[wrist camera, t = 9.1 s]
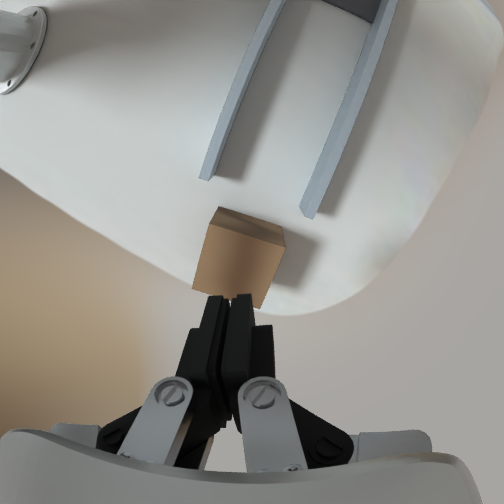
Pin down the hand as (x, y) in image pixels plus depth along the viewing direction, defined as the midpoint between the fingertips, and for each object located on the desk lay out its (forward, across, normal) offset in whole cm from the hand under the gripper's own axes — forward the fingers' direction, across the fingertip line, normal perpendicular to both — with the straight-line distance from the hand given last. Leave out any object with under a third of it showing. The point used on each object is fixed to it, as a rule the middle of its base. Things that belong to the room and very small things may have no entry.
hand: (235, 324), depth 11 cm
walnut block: (+15, +1, +3) cm, 16 cm away
